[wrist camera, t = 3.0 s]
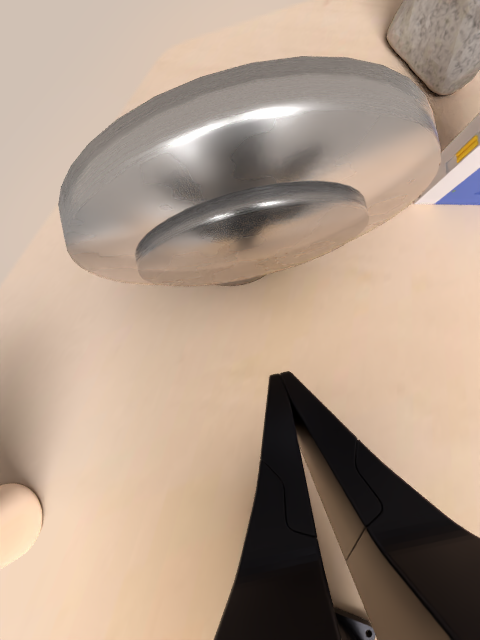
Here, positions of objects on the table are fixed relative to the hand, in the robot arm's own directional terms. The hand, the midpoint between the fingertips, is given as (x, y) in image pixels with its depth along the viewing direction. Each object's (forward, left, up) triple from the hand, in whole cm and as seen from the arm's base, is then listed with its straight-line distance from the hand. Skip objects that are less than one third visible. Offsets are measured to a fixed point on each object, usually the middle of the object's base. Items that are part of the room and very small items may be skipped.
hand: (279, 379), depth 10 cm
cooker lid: (+3, -6, 0) cm, 7 cm away
